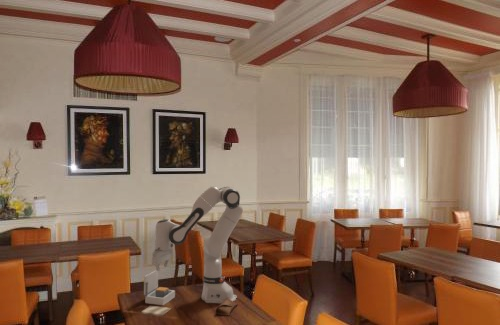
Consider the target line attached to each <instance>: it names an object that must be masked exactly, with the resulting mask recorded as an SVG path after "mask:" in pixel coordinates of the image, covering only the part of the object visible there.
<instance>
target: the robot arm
mask: <svg viewBox="0 0 500 325" xmlns="http://www.w3.org/2000/svg"><path fill="white" fill-rule="evenodd" d="M240 200H241V196H240V192H239V191H238V190H237V189H235V188H234V187H230V186H224V187H221V188H218V187H216V186H210V187H208V188H207V189H206V190H205V191H204V192H203V193H201V194H200V195H199V197H198V198H197V199H196V200H195V202H193V205H192V210H191V212H190V214H189V215H188V216H187V218H185V220H184V221H183V222H182V223H181V224H178V223H174V222H172V221H171V220H169V219H161V220H159V221H157V222H156V225H155V234H154V235H155V241H154V242H155V244H154V248H155V249H154V251H153V252H152V254H151V265H153V266H155V268H156V269H155V270H157V271H158V272H159V271H161V267H160V264H162V263H164V265H163V267H164V268H167V267H168V266H169V261H170V259H172V258H173V256H174V255H173V254H174V253H173V252H174V245H176V246H178V245H182V244H183V243H184V242H186V240H187V237H188V234H189V233H190V231H191V230H192V229H193V227H195V226H196V224H197V223H198V222H199V221H200V220H201V219H202V218H203V217H204V216H206V215H207V214H208V213H209V212H211V210H213V208H214V207H215V206H216V205H217V204H218V203H223V204H225V209H224V211H223V213H222V215H220V217H219V219H218V220H217V222H216V224H215V226H214V228H213V230H212V233H211V234H209V235H207V236H206V237H205V238H204V240H203V264H204V265H203V275H202V276H203V278H202V283H203V287H202V294H201V297H200V298H201V300H202V301H203V302H205V303H206V304H221V303H222V302H223V301H224V300H225V299H226V298H228V299H229V300H231V301H234V302H235V301H237V299H236V298H238V296H237V294H234V289H233V287H232V286H230V284H228V283H227V282H225V279H226V276H225V275H224V276H223V275H222V270H223V269H222V268H223V267H222V264H223V262H222V252H223V251H224V248H225V246H226V244H227V242H228V241H229V240H228V239H229V238H230V235H231V234H232V232H233V230H234V229H235V227H236V226H237V224H238V223H239V221H240V219H241V216H242V214H243V211H244V210H243V207H242V205H241V204H240Z"/></svg>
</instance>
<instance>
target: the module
mask: <svg viewBox="0 0 500 325" xmlns="http://www.w3.org/2000/svg"><path fill="white" fill-rule="evenodd" d="M168 290H169V287H163V286H158V288H157V289H156V297H160V298H163V297H165V296H166V295H168Z"/></svg>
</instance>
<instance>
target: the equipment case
mask: <svg viewBox="0 0 500 325" xmlns="http://www.w3.org/2000/svg"><path fill="white" fill-rule="evenodd" d="M157 288H159V271H157V270H156V269H155V270H153V271H152V272H150V273H147V274H146V275H144V277H143V296H144V297H145V299H144V300H145V301H144V302H145V304H148V305H149V304H150V305H155V306H165V305H166V304H168V303H169V302H171V301H172V299H174V298H175V297H176V290H173V289H168V295H166V296H165V297H163V298H160V297H156V289H157Z"/></svg>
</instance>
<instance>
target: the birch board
mask: <svg viewBox="0 0 500 325" xmlns="http://www.w3.org/2000/svg"><path fill="white" fill-rule="evenodd" d="M170 310H172V307H167V306H166V307H165V306H160V305H152V304H150V305H149V306H148V307H146V308H145V309H143V310H142V311H141V312H140V313H141V314H143V315H149V316H155V317H156V316H157V317H164V316H166V314H167V312H169V311H170Z"/></svg>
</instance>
